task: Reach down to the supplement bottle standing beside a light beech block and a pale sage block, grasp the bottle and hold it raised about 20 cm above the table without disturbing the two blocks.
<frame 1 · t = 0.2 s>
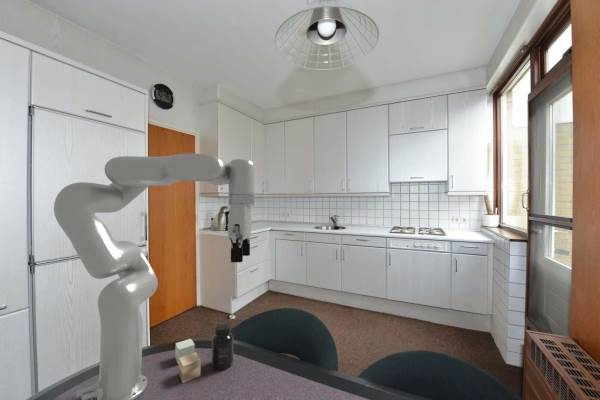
hand: (240, 258, 72), 36 cm above the table, tool pointing down, fingers open, 9 cm apart
supplement bottle: (222, 364, 80), on the table
sage block: (184, 358, 83), on the table
beech block: (189, 375, 75), on the table
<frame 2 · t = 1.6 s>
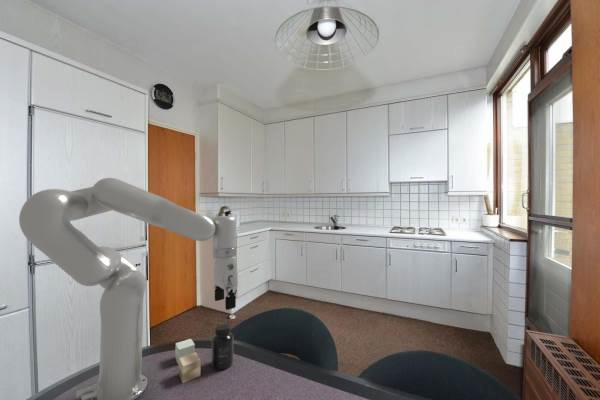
hand: (224, 304, 81), 19 cm above the table, tool pointing down, fingers open, 9 cm apart
nothing on the table moved.
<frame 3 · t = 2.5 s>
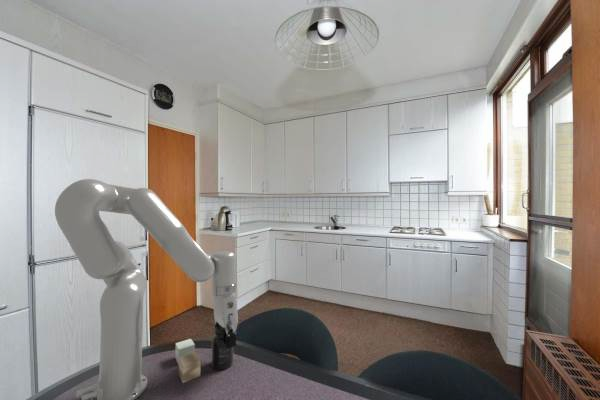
hand: (225, 340, 81), 7 cm above the table, tool pointing down, fingers open, 9 cm apart
nothing on the table moved.
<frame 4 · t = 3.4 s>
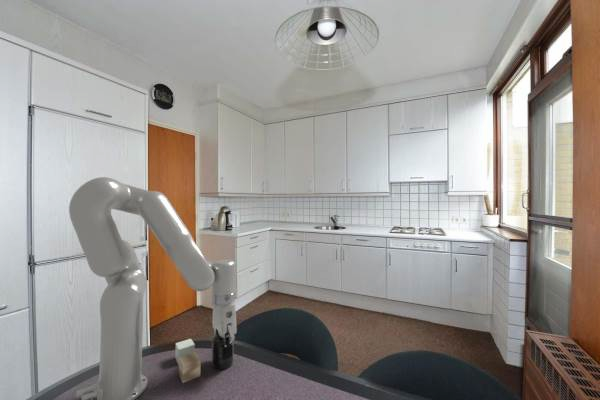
hand: (222, 352, 80), 4 cm above the table, tool pointing down, fingers closed on supplement bottle, 6 cm apart
supplement bottle: (222, 364, 80), on the table, touching gripper
everything else where it was.
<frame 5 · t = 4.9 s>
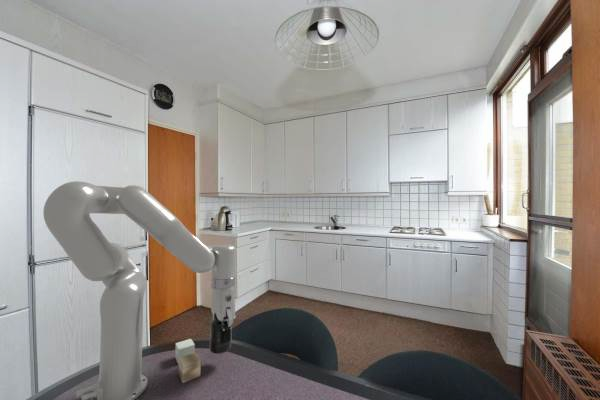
hand: (220, 336, 80), 9 cm above the table, tool pointing down, fingers closed on supplement bottle, 6 cm apart
supplement bottle: (220, 349, 80), point 5 cm above the table, touching gripper
everything else where it was.
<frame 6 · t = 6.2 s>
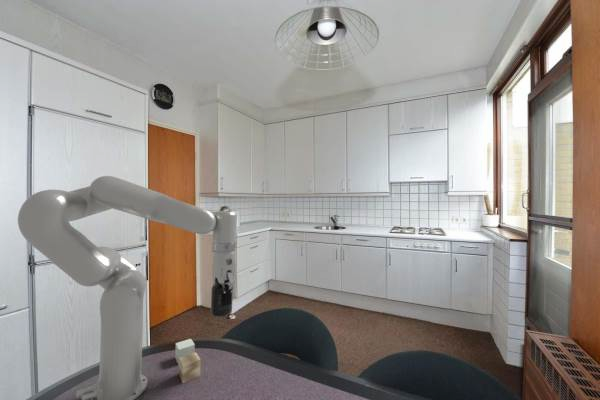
hand: (221, 301, 81), 21 cm above the table, tool pointing down, fingers closed on supplement bottle, 6 cm apart
supplement bottle: (221, 313, 81), point 17 cm above the table, touching gripper
everything else where it was.
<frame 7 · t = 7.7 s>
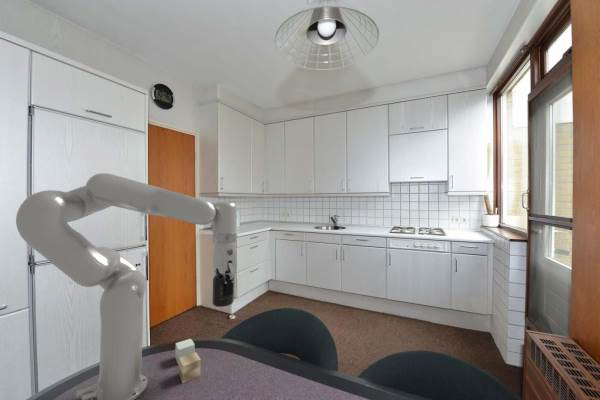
hand: (223, 291, 81), 24 cm above the table, tool pointing down, fingers closed on supplement bottle, 6 cm apart
supplement bottle: (222, 304, 81), point 20 cm above the table, touching gripper
everything else where it was.
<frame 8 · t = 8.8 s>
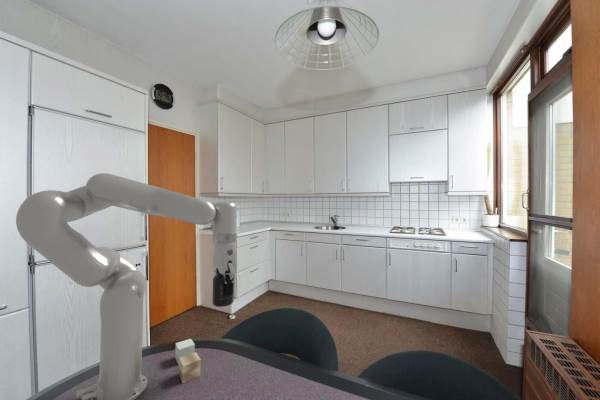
hand: (223, 291, 81), 24 cm above the table, tool pointing down, fingers closed on supplement bottle, 6 cm apart
supplement bottle: (222, 304, 81), point 20 cm above the table, touching gripper
everything else where it was.
at the end: supplement bottle inside the target area (0.2 cm from its centre), point 19.5 cm above the table; beech block moved 0.1 cm from its start; sage block moved 0.1 cm from its start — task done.
